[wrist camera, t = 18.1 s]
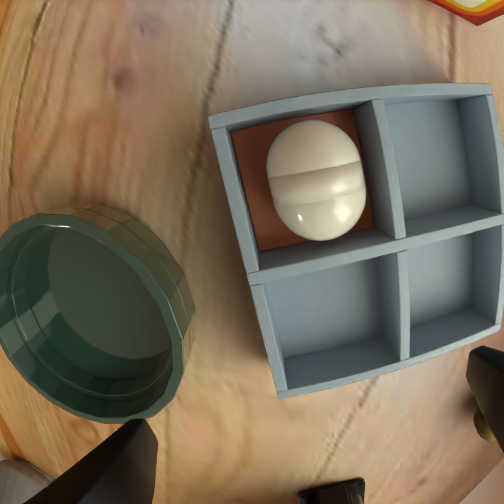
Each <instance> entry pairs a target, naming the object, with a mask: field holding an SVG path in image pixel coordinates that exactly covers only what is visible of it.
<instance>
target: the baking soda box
mask: <svg viewBox="0 0 504 504" xmlns="http://www.w3.org/2000/svg"><path fill="white" fill-rule="evenodd" d="M429 1H431V2H433V3H435V4H437V5H439V6H441V7H443V8H445V9H447V10H449V11H451V12H453V13H455V14H457V15H459V16H461V17H462V18H464V19H466V20H468V21H470V22H471V23H473V24H475V25H477V26H479V25H481V24H483V23H485V22H487V21H490V20H492V19H494V18H496V17H498V16H501V15H503V14H504V0H429Z"/></svg>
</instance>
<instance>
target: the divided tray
mask: <svg viewBox="0 0 504 504" xmlns="http://www.w3.org/2000/svg"><path fill="white" fill-rule="evenodd" d="M492 94H493V93H492V89H491V85H490V84H480V83H419V84H399V85H384V86H372V87H362V88H353V89H344V90H336V91H329V92H322V93H315V94H309V95H303V96H297V97H291V98H286V99H280V100H275V101H270V102H265V103H260V104H256V105H251V106H247V107H242V108H238V109H234V110H229V111H225V112H221V113H217V114H214V115H210V116H208V122H209V126H210V129H211V134H212V138H213V142H214V146H215V150H216V154H217V159H218V163H219V167H220V171H221V175H222V179H223V183H224V187H225V191H226V195H227V199H228V203H229V207H230V211H231V215H232V219H233V223H234V227H235V231H236V235H237V239H238V243H239V247H240V251H241V255H242V259H243V263H244V267H245V271H246V273H247V274H246V275H247V279H248V283H249V285H250V291H251V295H252V298H253V302H254V306H255V310H256V314H257V318H258V322H259V326H260V329H261V333H262V337H263V341H264V345H265V349H266V353H267V356H268V360H269V364H270V368H271V372H272V376H273V379H274V383H275V387H276V390H277V394H278V398H279V399H282V398H287V397H293V396H298V395H302V394H307V393H312V392H316V391H321V390H325V389H329V388H334V387H338V386H342V385H346V384H350V383H353V382H357V381H361V380H365V379H368V378H372V377H375V376H379V375H382V374H385V373H389V372H392V371H395V370H398V369H401V368H404V367H407V366H411V365H413V364H416V363H419V362H422V361H425V360H428V359H431V358H433V357H436V356H439V355H442V354H444V353H447V352H449V351H452V350H455V349H457V348H460V347H462V346H464V345H467V344H469V343H472V342H474V341H476V340H479V339H481V338H483V337H486V336H488V335H490V334H492V333H495V332H497V331H499V330H500V327H501V321H502V314H503V306H504V154H503V147H502V140H501V134H500V128H499V122H498V117H497V111H496V107H495V102H494V97H493V95H492ZM304 120H322V121H325V122H329V123H332V124H333V125H335V126H337V127H339V128H341V129H342V130H343V131H344V132H345V133H347V134H348V136H349V137H350V138H351V139H352V140H353V142H354V144H355V145H356V147H357V149H358V152H359V155H360V158H361V163H362V168H363V174H364V179H365V185H366V202H365V207H364V210H363V213H362V215H361V217H360V218H359V220H358V222H357V223H356V224H355V225H354V226H353V227H352V228H351V229H350V230H349V231H348V232H346V233H345V234H343V235H342V236H340V237H338V238H335V239H331V240H325V241H314V240H309V239H305V238H302V237H300V236H298V235H296V234H295V233H293V232H292V231H291V230H289V229H288V228H287V227H286V226H285V225H284V224H283V223H282V221H281V220H280V218H279V217H278V215H277V213H276V210H275V207H274V204H273V201H272V196H271V192H270V187H269V183H268V179H267V171H266V160H267V155H268V151H269V148H270V146H271V144H272V142H273V140H274V139H275V138H276V137H277V135H278V134H279V133H280V132H281V131H283V130H284V129H285V128H286V127H288V126H290V125H292V124H294V123H296V122H300V121H304Z"/></svg>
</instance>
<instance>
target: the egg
mask: <svg viewBox="0 0 504 504" xmlns="http://www.w3.org/2000/svg"><path fill="white" fill-rule="evenodd" d="M266 171H267V179H268V183H269V187H270V192H271V196H272V201H273V204H274V207H275V210H276V213H277V215H278V217H279V218H280V220H281V221H282V223H283V224H284V225H285V226H286V227H287V228H288V229H289V230H291V231H292V232H293V233H295V234H296V235H298V236H300V237H302V238H305V239H309V240H314V241H325V240H331V239H335V238H338V237H340V236H342V235H343V234H345V233H346V232H348V231H349V230H350V229H351V228H352V227H353V226H354V225H355V224H356V223H357V222H358V220H359V218H360V217H361V215H362V213H363V210H364V207H365V202H366V185H365V179H364V174H363V168H362V163H361V158H360V155H359V152H358V149H357V147H356V145H355V144H354V142H353V140H352V139H351V138H350V137H349V136H348V134H347V133H345V132H344V131H343V130H342V129H341V128H339V127H337V126H335V125H333V124H332V123H329V122H325V121H322V120H304V121H300V122H296V123H294V124H292V125H290V126H288V127H286V128H285V129H284V130H283V131H281V132H280V133H279V134H278V135H277V137H276V138H275V139H274V140H273V142H272V144H271V146H270V148H269V151H268V155H267V160H266Z"/></svg>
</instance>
